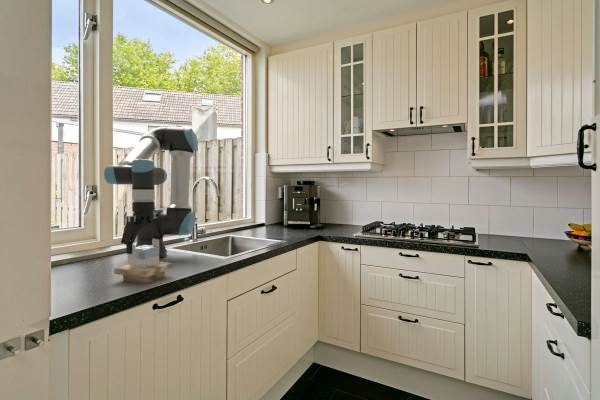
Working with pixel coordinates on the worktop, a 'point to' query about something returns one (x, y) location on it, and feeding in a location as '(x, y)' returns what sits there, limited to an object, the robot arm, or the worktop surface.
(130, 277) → the stand
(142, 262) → the housing
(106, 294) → the worktop surface
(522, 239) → the worktop surface
